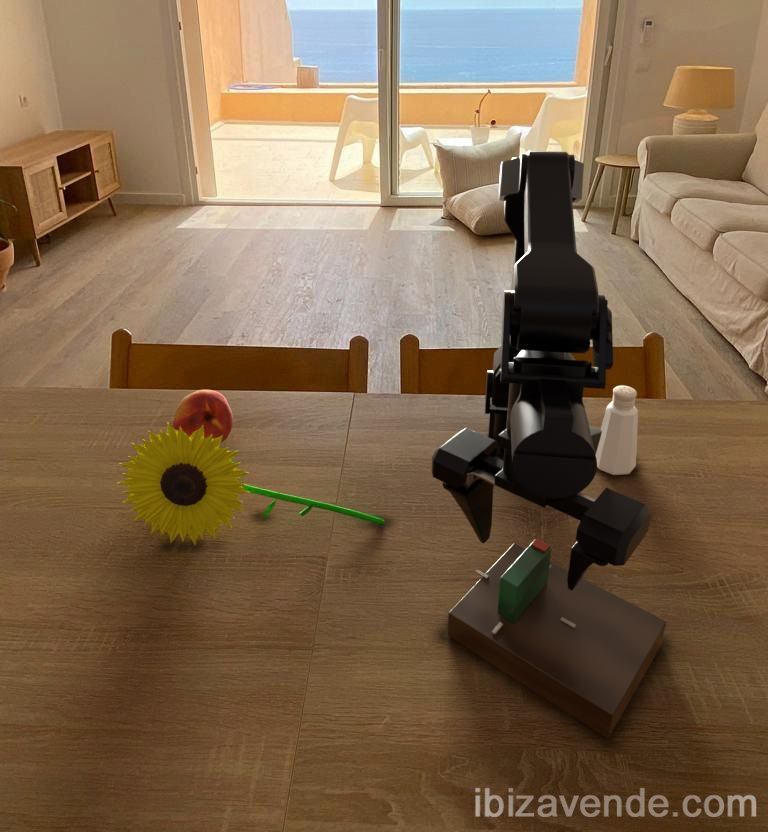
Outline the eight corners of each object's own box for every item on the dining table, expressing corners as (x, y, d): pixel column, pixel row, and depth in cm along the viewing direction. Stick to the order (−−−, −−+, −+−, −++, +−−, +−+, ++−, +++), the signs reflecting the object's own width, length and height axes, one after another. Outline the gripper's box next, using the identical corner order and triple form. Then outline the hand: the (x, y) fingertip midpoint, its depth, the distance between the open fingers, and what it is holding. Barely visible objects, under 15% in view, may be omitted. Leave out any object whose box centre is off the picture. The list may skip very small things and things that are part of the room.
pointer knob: (514, 623, 63) (517, 585, 61) (497, 613, 64) (500, 575, 63) (548, 582, 68) (552, 544, 66) (531, 573, 69) (535, 536, 67)
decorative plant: (401, 460, 80) (145, 392, 77) (404, 483, 75) (127, 411, 72) (365, 568, 83) (118, 506, 81) (365, 598, 78) (100, 533, 75)
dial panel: (607, 739, 57) (612, 713, 55) (440, 631, 66) (440, 606, 65) (661, 644, 65) (667, 619, 64) (505, 560, 75) (507, 537, 73)
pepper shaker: (613, 480, 87) (625, 405, 82) (583, 458, 91) (593, 385, 87) (644, 468, 89) (658, 394, 85) (614, 446, 94) (625, 375, 89)
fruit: (175, 464, 91) (167, 412, 88) (177, 430, 98) (169, 381, 95) (236, 455, 93) (230, 404, 89) (234, 423, 100) (228, 374, 96)
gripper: (688, 418, 58) (659, 560, 65) (496, 353, 69) (488, 480, 76) (636, 483, 50) (609, 637, 57) (429, 398, 61) (426, 536, 68)
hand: (527, 562), depth 65 cm, fingers open, 9 cm apart
